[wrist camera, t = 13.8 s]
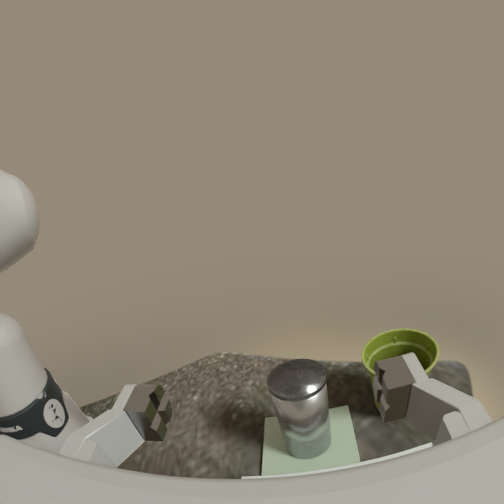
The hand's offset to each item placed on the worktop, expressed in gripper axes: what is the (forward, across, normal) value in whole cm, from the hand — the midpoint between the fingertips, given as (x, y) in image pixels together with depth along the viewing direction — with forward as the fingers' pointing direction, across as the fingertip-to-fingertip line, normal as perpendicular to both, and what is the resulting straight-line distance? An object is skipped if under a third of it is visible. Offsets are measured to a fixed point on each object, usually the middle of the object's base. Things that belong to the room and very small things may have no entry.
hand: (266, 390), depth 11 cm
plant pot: (+18, -13, +24) cm, 33 cm away
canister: (+14, -1, +24) cm, 28 cm away
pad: (+14, -1, +24) cm, 28 cm away
